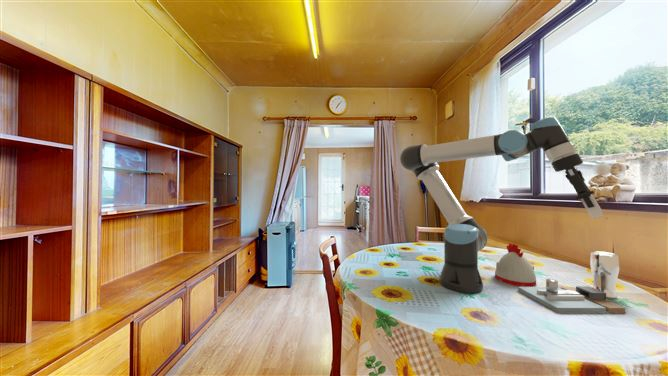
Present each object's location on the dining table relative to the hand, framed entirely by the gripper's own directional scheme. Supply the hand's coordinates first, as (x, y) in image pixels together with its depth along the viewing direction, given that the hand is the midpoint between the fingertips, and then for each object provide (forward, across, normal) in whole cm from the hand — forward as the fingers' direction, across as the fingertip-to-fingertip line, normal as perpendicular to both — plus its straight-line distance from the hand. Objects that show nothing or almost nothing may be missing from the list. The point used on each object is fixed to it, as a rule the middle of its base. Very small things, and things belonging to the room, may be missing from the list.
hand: (597, 215), depth 80 cm
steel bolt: (+22, -5, +18) cm, 29 cm away
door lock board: (+24, -5, +18) cm, 31 cm away
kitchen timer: (+19, +6, +33) cm, 39 cm away
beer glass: (+29, +12, +10) cm, 33 cm away
